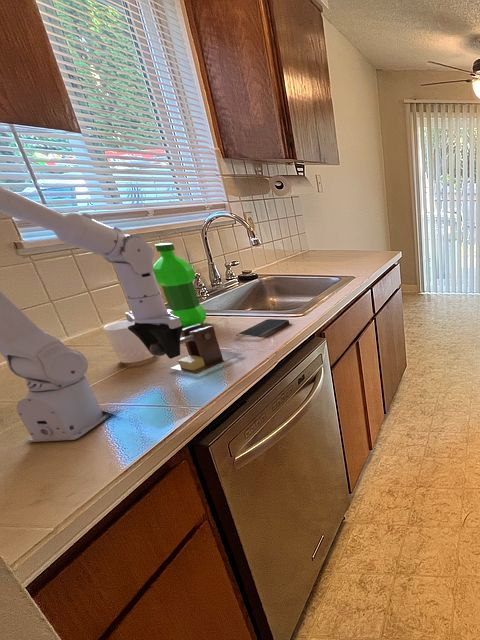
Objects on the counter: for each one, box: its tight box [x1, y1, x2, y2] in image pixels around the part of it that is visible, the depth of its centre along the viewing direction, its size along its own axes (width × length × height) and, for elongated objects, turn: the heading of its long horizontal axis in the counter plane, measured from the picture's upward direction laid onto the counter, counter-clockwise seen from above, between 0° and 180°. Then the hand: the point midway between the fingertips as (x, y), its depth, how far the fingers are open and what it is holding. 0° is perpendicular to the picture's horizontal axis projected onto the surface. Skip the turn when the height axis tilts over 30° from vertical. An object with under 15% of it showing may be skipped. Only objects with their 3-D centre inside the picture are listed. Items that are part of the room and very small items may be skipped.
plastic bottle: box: [152, 242, 207, 329], centre depth 119 cm, size 10×10×25 cm
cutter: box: [150, 328, 201, 357], centre depth 90 cm, size 12×3×3 cm, turn 159°
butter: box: [177, 355, 205, 370], centre depth 94 cm, size 3×4×2 cm
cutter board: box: [171, 324, 242, 375], centre depth 95 cm, size 12×9×10 cm
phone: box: [235, 318, 290, 339], centre depth 119 cm, size 8×1×15 cm
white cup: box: [102, 319, 155, 364], centre depth 98 cm, size 8×8×10 cm
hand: (166, 354), depth 88 cm, fingers open, 5 cm apart
